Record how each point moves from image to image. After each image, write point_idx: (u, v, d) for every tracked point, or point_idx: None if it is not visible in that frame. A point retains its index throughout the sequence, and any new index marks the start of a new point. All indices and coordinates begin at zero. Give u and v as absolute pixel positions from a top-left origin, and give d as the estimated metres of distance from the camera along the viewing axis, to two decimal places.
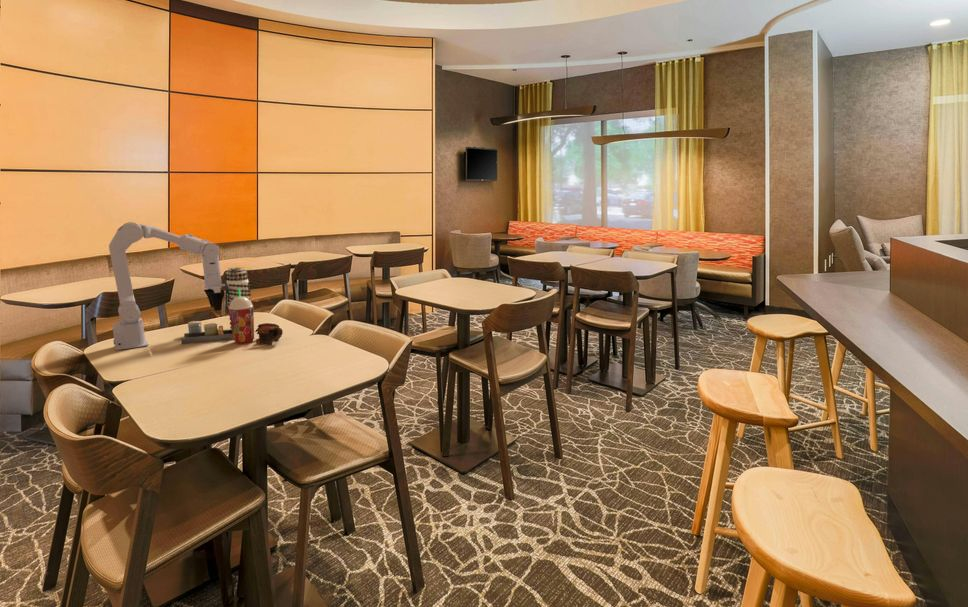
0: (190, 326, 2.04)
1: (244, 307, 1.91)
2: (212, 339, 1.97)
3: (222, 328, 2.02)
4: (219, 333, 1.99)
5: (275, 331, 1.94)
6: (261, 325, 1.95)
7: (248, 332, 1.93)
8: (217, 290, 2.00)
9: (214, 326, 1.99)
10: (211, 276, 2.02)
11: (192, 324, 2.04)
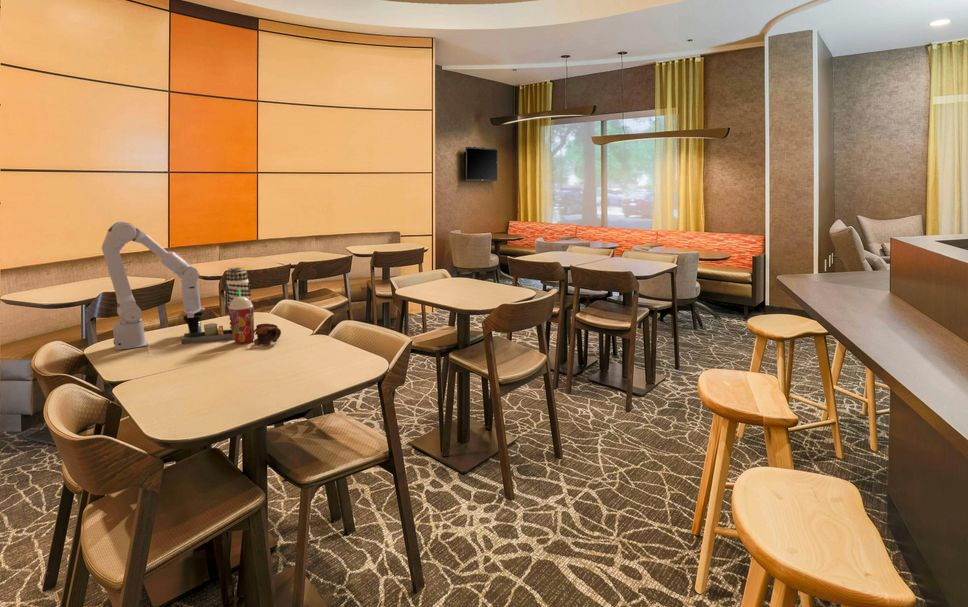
0: None
1: (244, 307, 1.91)
2: (212, 339, 1.97)
3: (222, 328, 2.02)
4: (219, 333, 1.99)
5: (273, 331, 1.94)
6: (259, 325, 1.95)
7: (248, 332, 1.93)
8: (190, 315, 1.98)
9: (214, 326, 1.99)
10: (188, 300, 2.01)
11: None
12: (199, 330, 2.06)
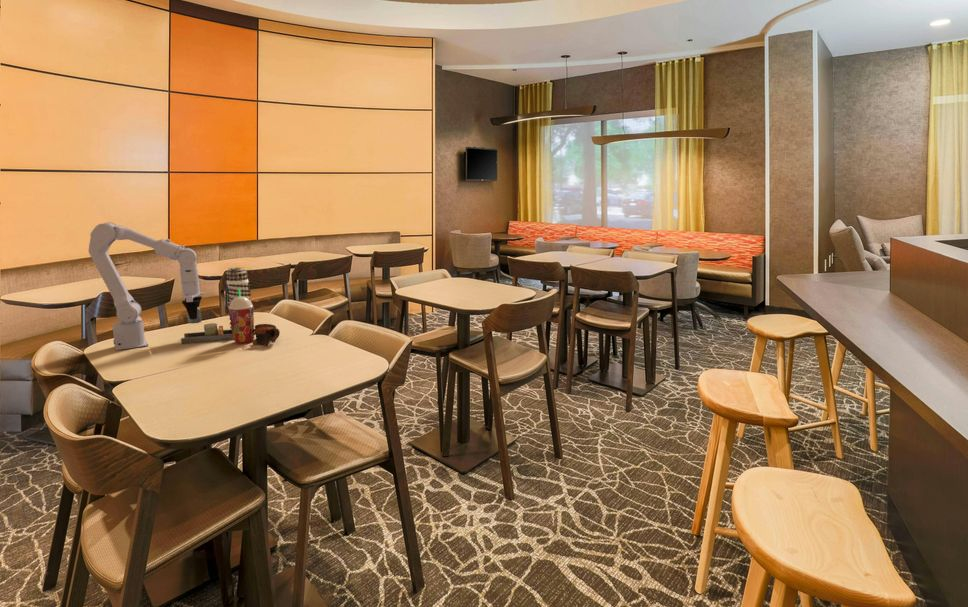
0: None
1: (244, 307, 1.91)
2: (212, 339, 1.97)
3: (222, 328, 2.02)
4: (219, 333, 1.99)
5: (272, 332, 1.94)
6: (258, 326, 1.95)
7: (248, 332, 1.93)
8: (189, 299, 1.92)
9: (214, 326, 1.99)
10: (186, 284, 1.94)
11: None
12: (198, 316, 1.99)
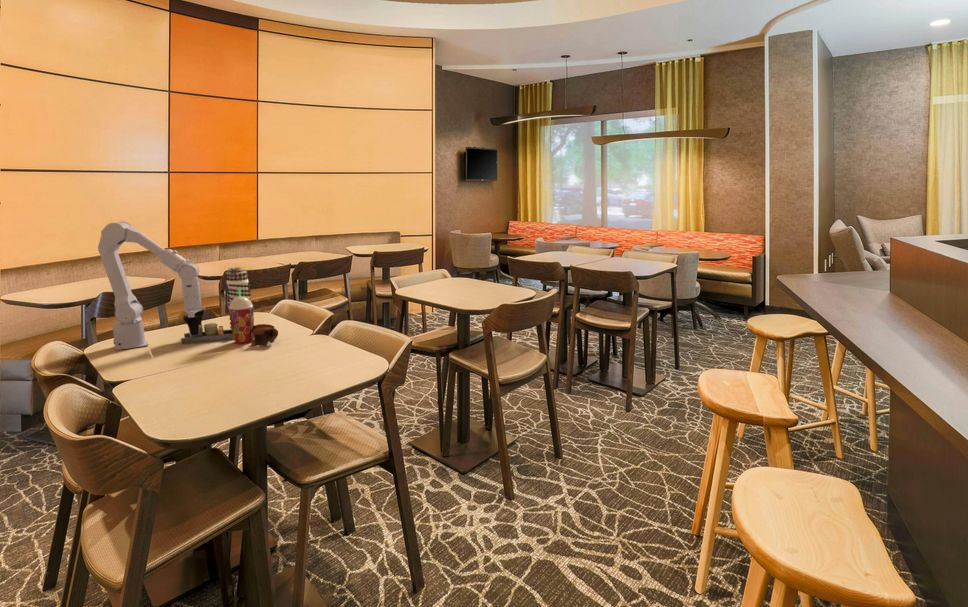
0: None
1: (244, 307, 1.91)
2: (212, 339, 1.97)
3: (222, 328, 2.02)
4: (219, 333, 1.99)
5: (270, 332, 1.93)
6: (256, 326, 1.94)
7: (248, 332, 1.93)
8: (190, 315, 1.90)
9: (214, 326, 1.99)
10: (188, 299, 1.93)
11: None
12: (200, 334, 1.98)
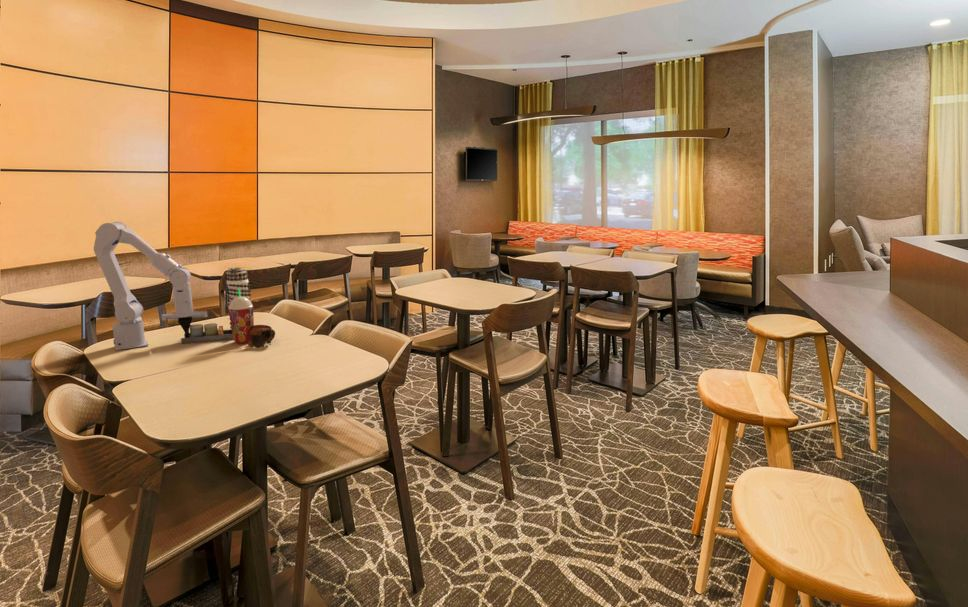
0: (192, 329, 1.96)
1: (244, 307, 1.91)
2: (212, 339, 1.97)
3: (222, 328, 2.02)
4: (219, 333, 1.99)
5: (267, 333, 1.92)
6: (253, 327, 1.93)
7: None
8: (162, 317, 1.94)
9: (214, 326, 1.99)
10: None
11: (194, 327, 1.96)
12: (201, 334, 1.98)
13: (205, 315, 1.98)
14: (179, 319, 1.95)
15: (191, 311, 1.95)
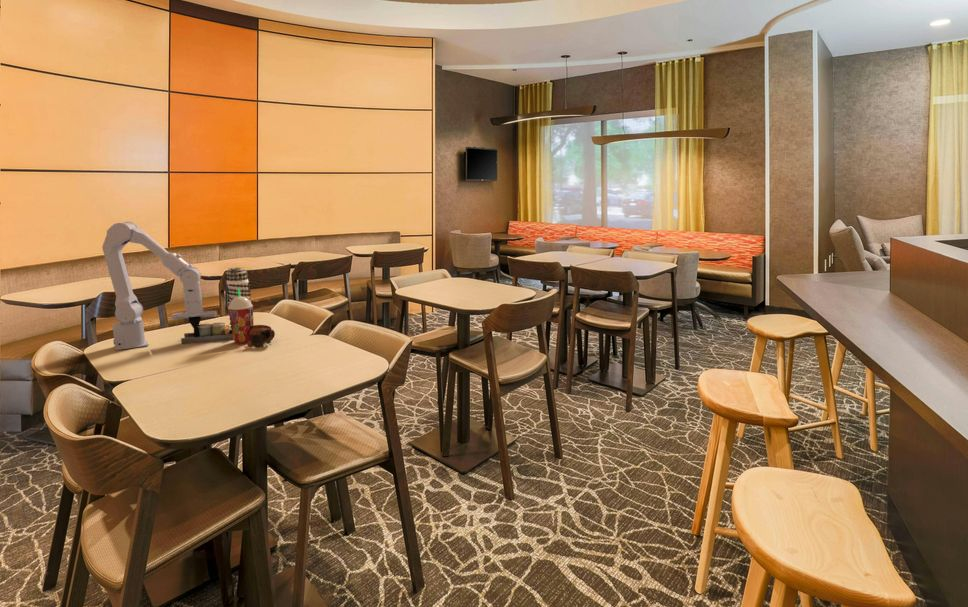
0: (201, 329, 1.97)
1: (244, 307, 1.91)
2: (212, 339, 1.97)
3: (228, 327, 2.03)
4: (226, 332, 1.99)
5: (267, 333, 1.92)
6: (253, 327, 1.93)
7: None
8: None
9: (222, 325, 2.00)
10: None
11: (203, 327, 1.97)
12: (210, 333, 1.99)
13: (215, 315, 1.99)
14: (189, 318, 1.96)
15: (201, 310, 1.97)
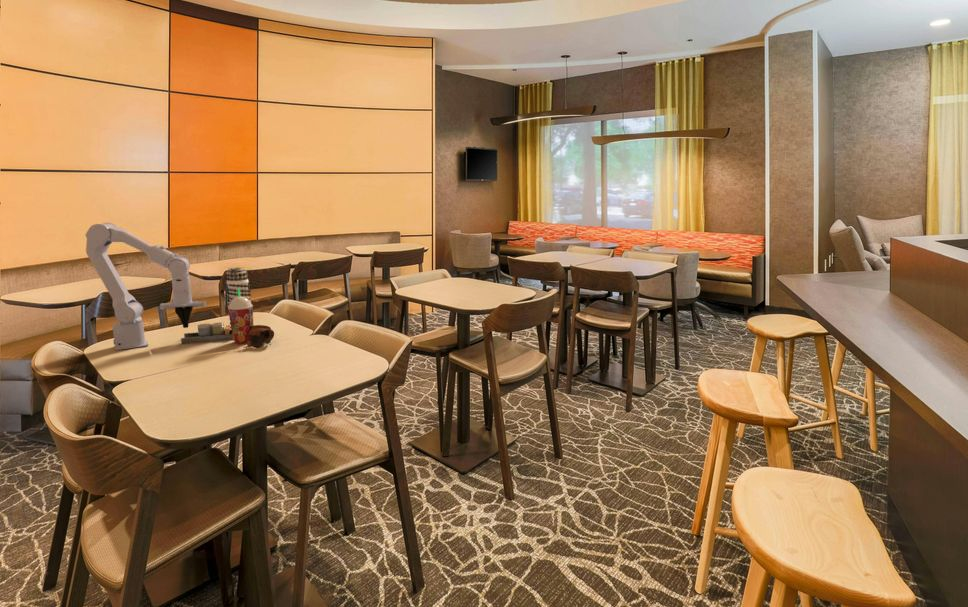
0: (200, 329, 1.97)
1: (243, 307, 1.91)
2: (212, 339, 1.97)
3: (229, 327, 2.03)
4: (226, 332, 2.00)
5: (267, 333, 1.92)
6: (252, 327, 1.93)
7: None
8: None
9: (221, 325, 2.00)
10: None
11: (202, 327, 1.97)
12: (209, 333, 1.99)
13: (204, 305, 1.97)
14: (177, 308, 1.94)
15: (190, 301, 1.95)
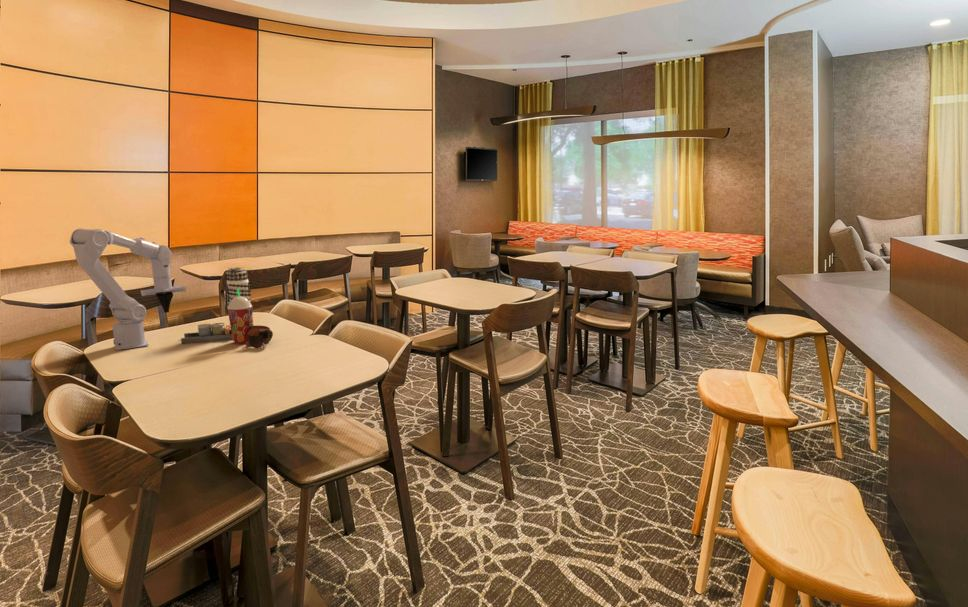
0: (200, 329, 1.97)
1: (243, 307, 1.91)
2: (212, 339, 1.97)
3: (229, 327, 2.03)
4: (226, 332, 2.00)
5: (265, 333, 1.91)
6: (251, 327, 1.92)
7: None
8: (141, 293, 1.99)
9: (221, 325, 2.00)
10: None
11: (202, 327, 1.97)
12: (209, 333, 1.99)
13: (184, 289, 2.07)
14: (159, 294, 2.01)
15: (171, 286, 2.03)
